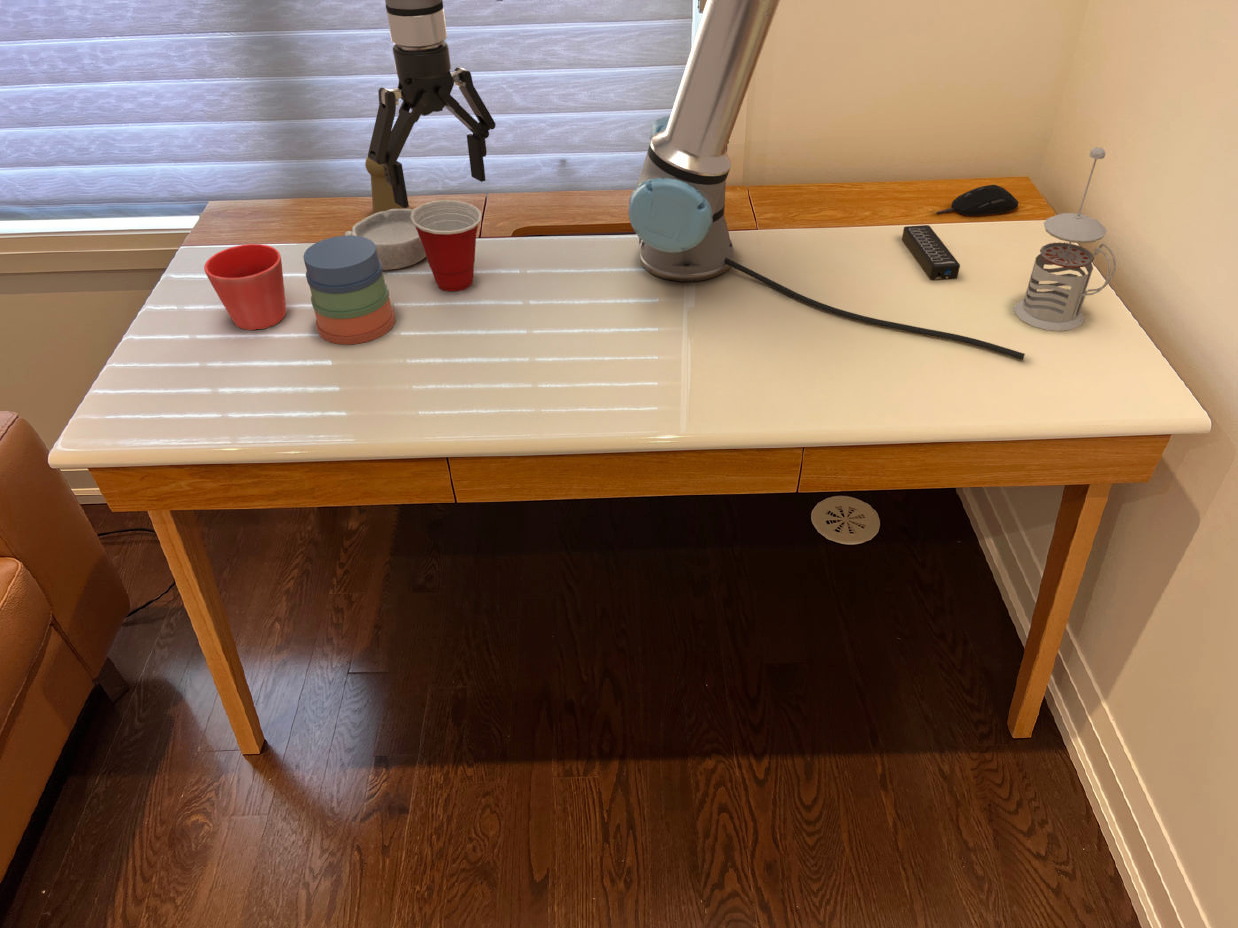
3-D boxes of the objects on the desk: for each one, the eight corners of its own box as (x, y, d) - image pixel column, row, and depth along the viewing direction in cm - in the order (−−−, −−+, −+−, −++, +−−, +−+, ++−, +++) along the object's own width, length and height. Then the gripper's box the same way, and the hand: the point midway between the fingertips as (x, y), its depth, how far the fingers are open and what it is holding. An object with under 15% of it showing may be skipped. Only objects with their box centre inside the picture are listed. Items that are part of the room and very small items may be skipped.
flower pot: (258, 343, 140) (239, 284, 133) (208, 324, 144) (188, 266, 138) (311, 311, 146) (295, 253, 140) (262, 293, 151) (245, 237, 145)
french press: (1033, 290, 146) (1079, 128, 130) (1108, 316, 139) (1166, 150, 123) (1001, 314, 141) (1046, 149, 125) (1077, 343, 134) (1134, 173, 118)
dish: (429, 229, 167) (425, 202, 164) (443, 264, 157) (439, 236, 154) (346, 243, 164) (340, 216, 161) (355, 279, 154) (349, 251, 151)
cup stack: (410, 324, 143) (396, 252, 135) (341, 353, 137) (322, 279, 129) (371, 296, 149) (355, 225, 142) (303, 323, 144) (284, 251, 136)
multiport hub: (926, 237, 160) (928, 224, 159) (958, 278, 149) (961, 265, 148) (900, 238, 160) (903, 226, 158) (930, 280, 149) (933, 267, 147)
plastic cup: (478, 302, 147) (468, 231, 139) (412, 297, 149) (399, 226, 141) (498, 269, 155) (490, 200, 148) (436, 264, 157) (424, 196, 149)
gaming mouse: (928, 206, 169) (933, 185, 167) (1005, 197, 171) (1010, 176, 169) (945, 221, 164) (949, 200, 162) (1023, 212, 166) (1029, 190, 164)
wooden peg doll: (403, 220, 170) (392, 161, 163) (370, 221, 170) (357, 162, 163) (409, 206, 175) (399, 147, 168) (377, 206, 175) (365, 148, 168)
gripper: (479, 19, 137) (494, 161, 151) (323, 56, 125) (354, 208, 138) (510, 29, 133) (522, 175, 146) (351, 69, 120) (381, 225, 134)
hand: (441, 191), depth 142 cm, fingers open, 13 cm apart
